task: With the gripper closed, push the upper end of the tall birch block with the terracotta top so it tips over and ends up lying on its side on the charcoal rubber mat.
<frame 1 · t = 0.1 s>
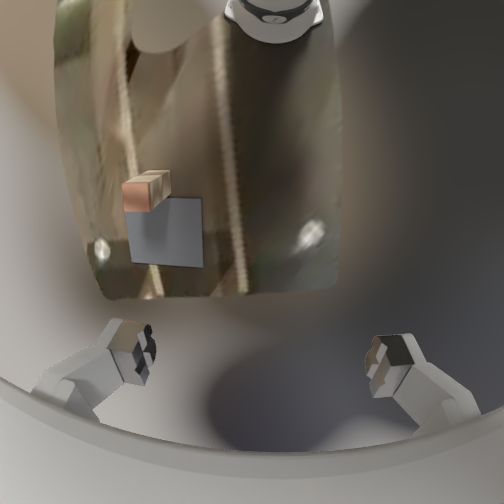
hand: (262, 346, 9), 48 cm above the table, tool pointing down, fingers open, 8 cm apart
rubber mat: (163, 232, 60), on the table
birch block: (159, 181, 55), on the table
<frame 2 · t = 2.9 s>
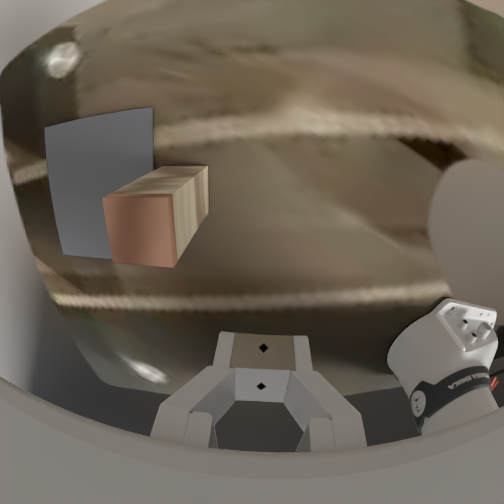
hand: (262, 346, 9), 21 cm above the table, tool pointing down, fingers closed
rubber mat: (96, 190, 29), on the table
birch block: (185, 188, 29), on the table
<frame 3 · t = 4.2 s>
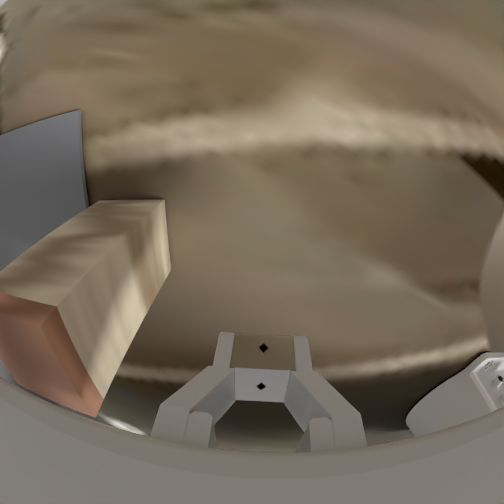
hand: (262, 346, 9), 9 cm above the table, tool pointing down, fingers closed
rubber mat: (27, 232, 18), on the table
birch block: (134, 234, 18), on the table
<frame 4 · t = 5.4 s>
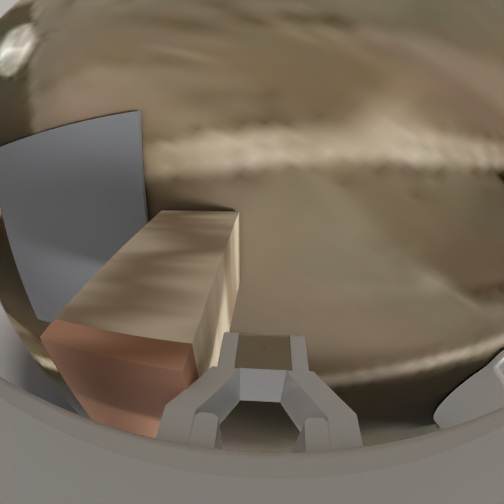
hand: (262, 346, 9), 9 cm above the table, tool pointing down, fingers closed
rubber mat: (65, 242, 19), on the table
birch block: (201, 247, 18), on the table, touching gripper
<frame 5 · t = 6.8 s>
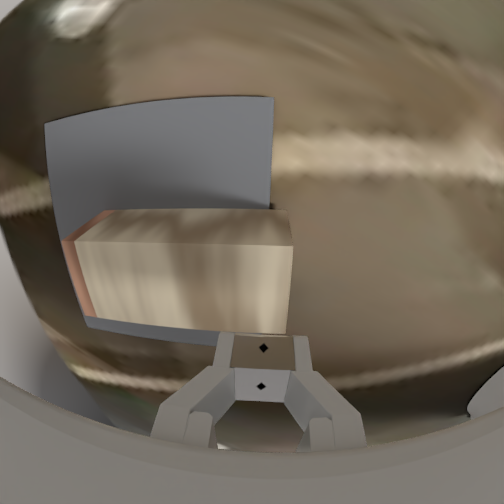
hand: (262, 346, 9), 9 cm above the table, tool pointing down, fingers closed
rubber mat: (148, 239, 18), on the table
birch block: (286, 268, 15), point 3 cm above the table, tilted 90°, touching rubber mat
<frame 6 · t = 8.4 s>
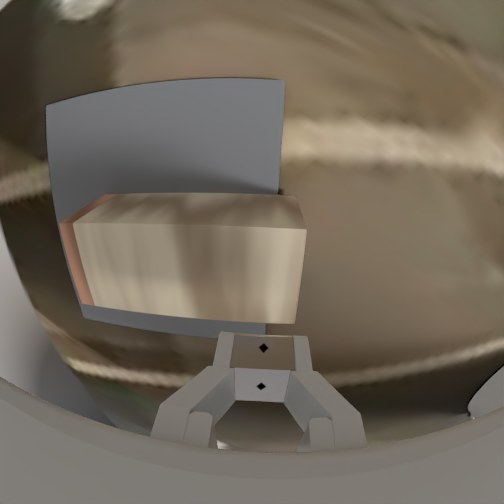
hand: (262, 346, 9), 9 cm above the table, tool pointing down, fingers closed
rubber mat: (149, 225, 17), on the table
birch block: (296, 255, 15), point 3 cm above the table, tilted 90°, touching rubber mat
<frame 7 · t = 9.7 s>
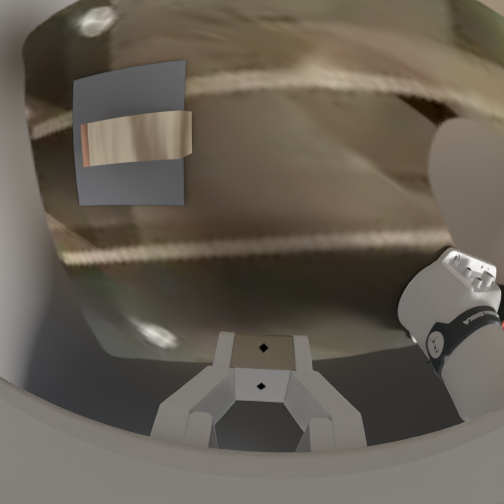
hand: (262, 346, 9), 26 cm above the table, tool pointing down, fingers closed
rubber mat: (123, 136, 30), on the table
birch block: (186, 133, 27), point 3 cm above the table, tilted 90°, touching rubber mat
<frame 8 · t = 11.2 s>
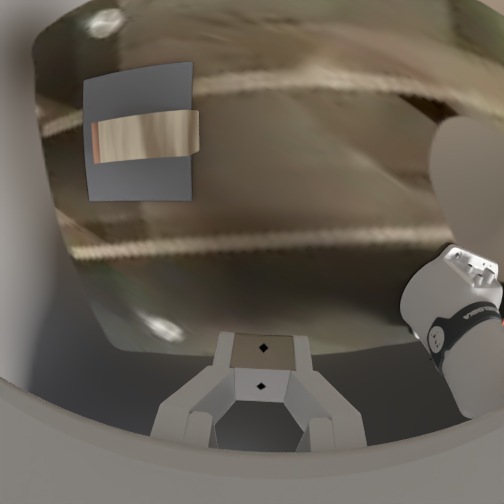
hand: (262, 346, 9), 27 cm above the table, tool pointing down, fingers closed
rubber mat: (132, 134, 32), on the table
birch block: (193, 131, 29), point 3 cm above the table, tilted 90°, touching rubber mat
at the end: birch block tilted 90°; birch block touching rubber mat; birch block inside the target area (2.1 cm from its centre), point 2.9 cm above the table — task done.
